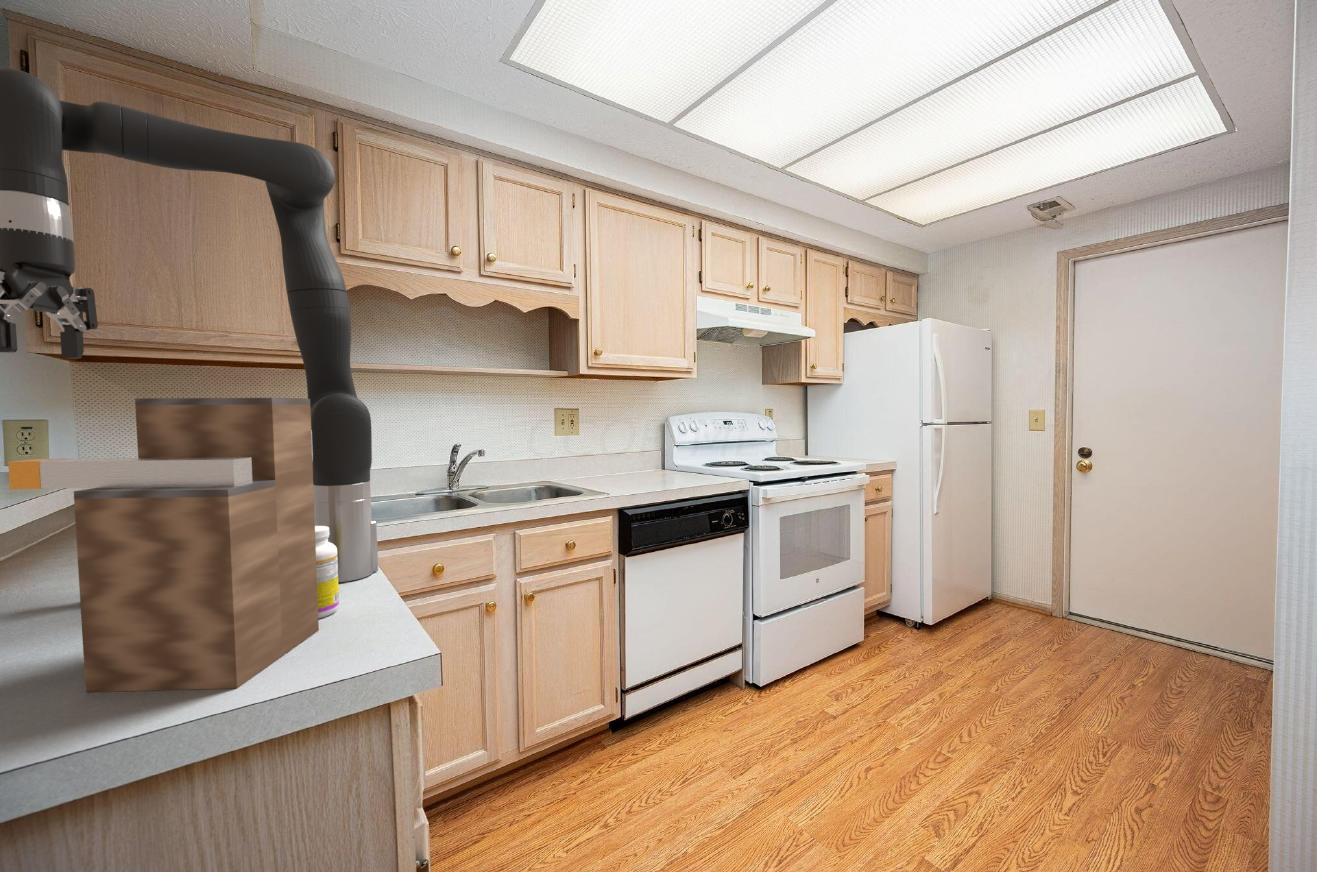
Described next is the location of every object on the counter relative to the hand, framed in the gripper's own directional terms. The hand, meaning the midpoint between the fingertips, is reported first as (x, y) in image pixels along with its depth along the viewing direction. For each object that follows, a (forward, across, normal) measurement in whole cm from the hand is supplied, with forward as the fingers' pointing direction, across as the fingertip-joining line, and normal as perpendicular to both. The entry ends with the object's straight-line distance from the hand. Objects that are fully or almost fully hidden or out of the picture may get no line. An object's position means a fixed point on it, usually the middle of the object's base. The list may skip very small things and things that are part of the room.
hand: (40, 355), depth 77 cm
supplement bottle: (+38, +4, -32) cm, 50 cm away
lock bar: (+16, -14, -24) cm, 32 cm away
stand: (+38, -10, -29) cm, 49 cm away
